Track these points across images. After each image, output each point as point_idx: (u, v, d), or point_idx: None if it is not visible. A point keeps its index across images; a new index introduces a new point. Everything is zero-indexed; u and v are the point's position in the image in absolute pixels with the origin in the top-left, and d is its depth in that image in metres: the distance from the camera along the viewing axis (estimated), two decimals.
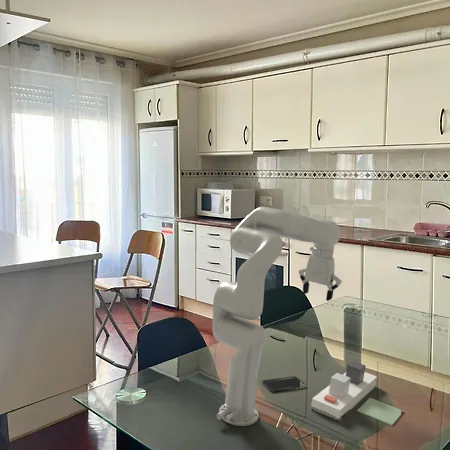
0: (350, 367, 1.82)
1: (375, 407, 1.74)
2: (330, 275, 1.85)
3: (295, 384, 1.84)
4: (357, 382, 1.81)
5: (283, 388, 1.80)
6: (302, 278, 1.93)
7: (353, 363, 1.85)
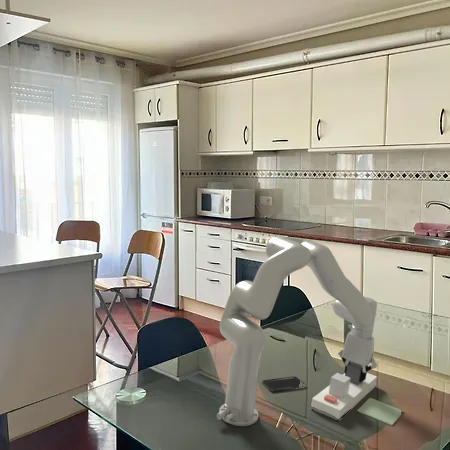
0: (350, 367, 1.82)
1: (375, 407, 1.74)
2: (370, 356, 1.78)
3: (295, 384, 1.84)
4: (357, 382, 1.81)
5: (283, 388, 1.80)
6: (344, 360, 1.86)
7: (353, 363, 1.85)
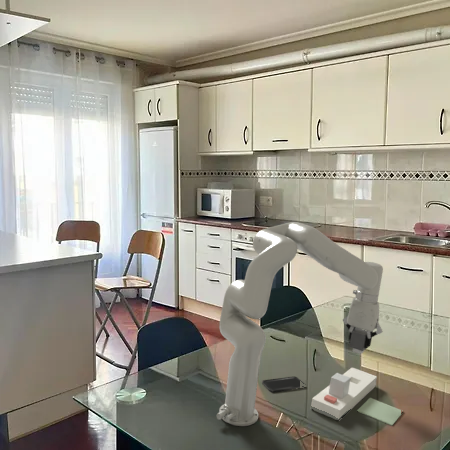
0: (355, 333, 1.80)
1: (375, 407, 1.74)
2: (375, 321, 1.76)
3: (295, 384, 1.84)
4: (362, 348, 1.79)
5: (283, 388, 1.80)
6: (348, 326, 1.83)
7: (358, 330, 1.82)
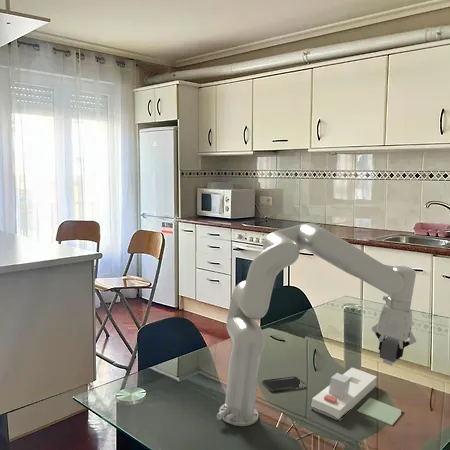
0: (385, 343, 1.67)
1: (375, 407, 1.74)
2: (408, 330, 1.63)
3: (295, 384, 1.84)
4: (393, 359, 1.66)
5: (283, 388, 1.80)
6: (378, 335, 1.70)
7: (389, 339, 1.69)
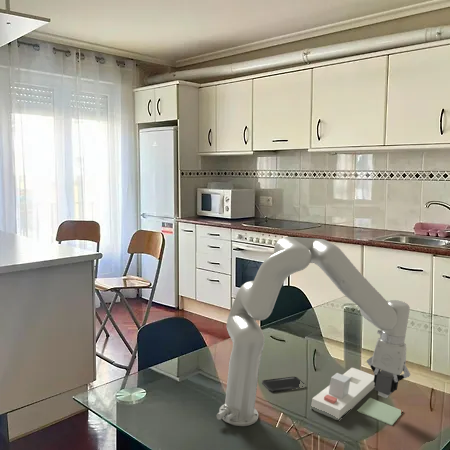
0: (380, 376, 1.69)
1: (375, 407, 1.74)
2: (402, 364, 1.65)
3: (295, 384, 1.84)
4: (388, 392, 1.68)
5: (283, 388, 1.80)
6: (373, 368, 1.72)
7: (384, 372, 1.71)
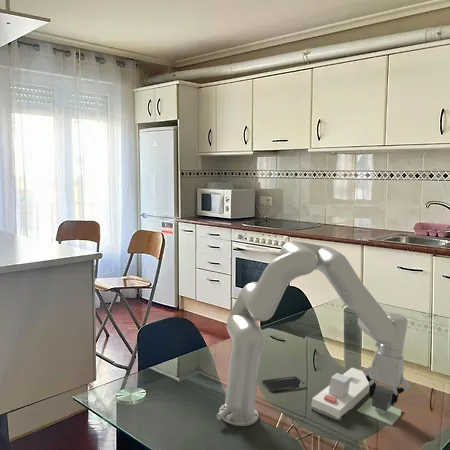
0: (377, 392, 1.70)
1: None
2: (400, 377, 1.65)
3: (295, 384, 1.84)
4: (385, 408, 1.69)
5: (283, 388, 1.80)
6: (368, 379, 1.73)
7: (381, 388, 1.72)
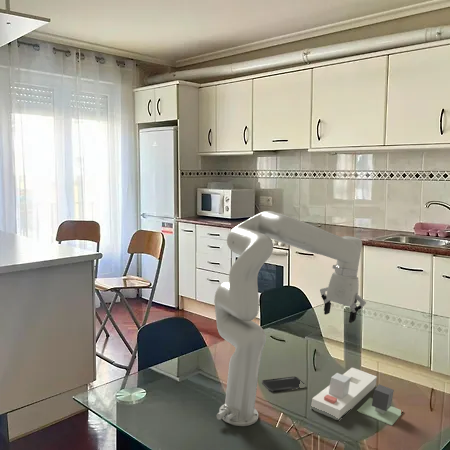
0: (377, 392, 1.70)
1: None
2: (354, 295, 1.74)
3: (295, 384, 1.84)
4: (385, 408, 1.69)
5: (283, 388, 1.80)
6: (323, 297, 1.82)
7: (381, 388, 1.72)
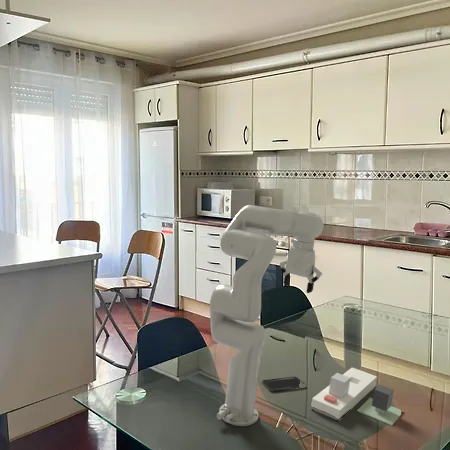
0: (377, 392, 1.70)
1: None
2: (310, 267, 1.84)
3: (295, 384, 1.84)
4: (385, 408, 1.69)
5: (283, 388, 1.80)
6: (283, 270, 1.92)
7: (381, 388, 1.72)
